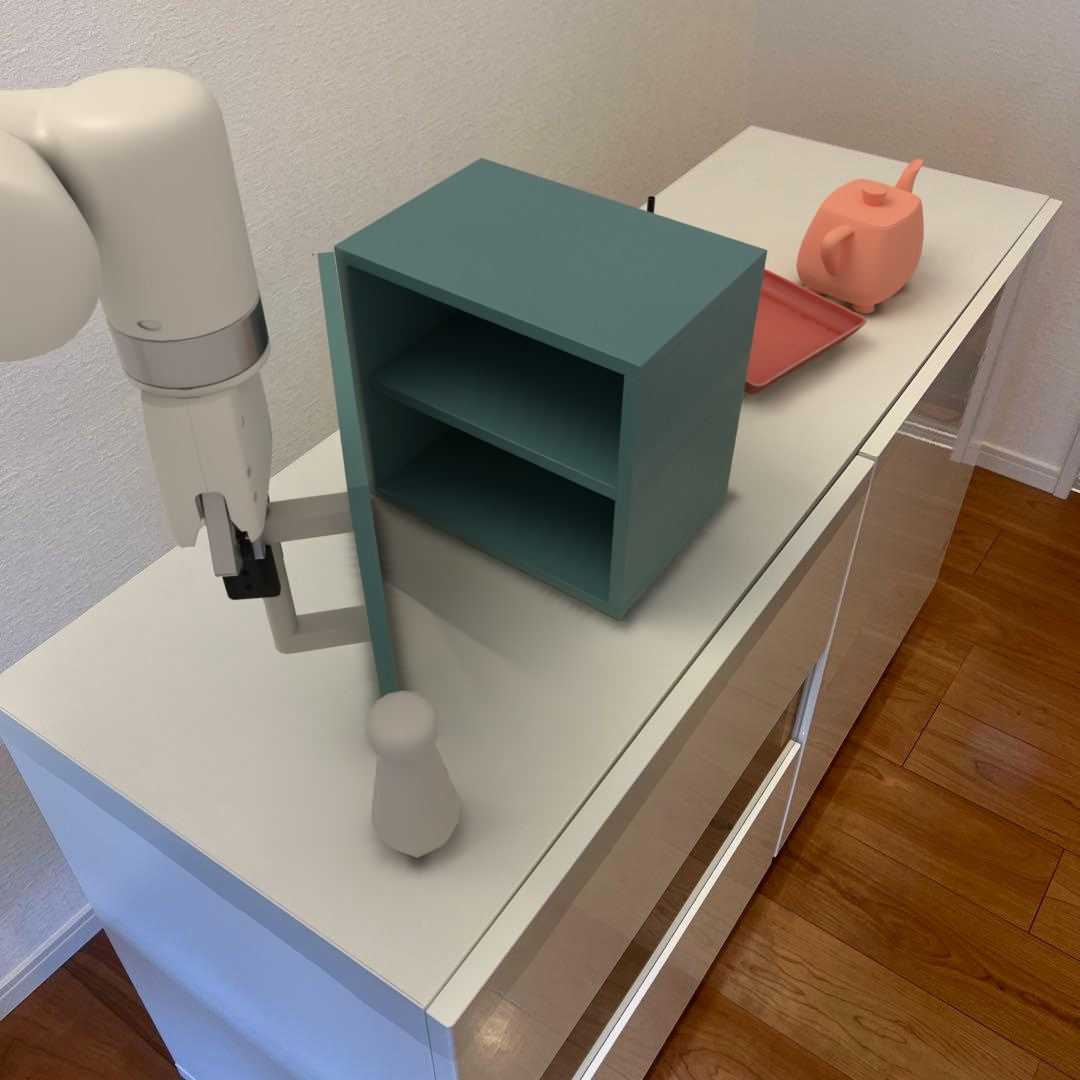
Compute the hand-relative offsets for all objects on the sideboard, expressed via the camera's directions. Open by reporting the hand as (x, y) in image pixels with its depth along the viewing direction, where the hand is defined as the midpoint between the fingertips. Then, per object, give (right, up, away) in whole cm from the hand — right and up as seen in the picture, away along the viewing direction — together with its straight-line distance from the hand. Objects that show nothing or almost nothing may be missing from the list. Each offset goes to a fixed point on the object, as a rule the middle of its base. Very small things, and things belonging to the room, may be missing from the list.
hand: (256, 578), depth 68 cm
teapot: (+54, +31, +54) cm, 82 cm away
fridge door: (+2, -3, +18) cm, 18 cm away
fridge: (+19, +6, +28) cm, 34 cm away
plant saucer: (+39, +23, +46) cm, 65 cm away
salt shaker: (+10, -17, +4) cm, 20 cm away
